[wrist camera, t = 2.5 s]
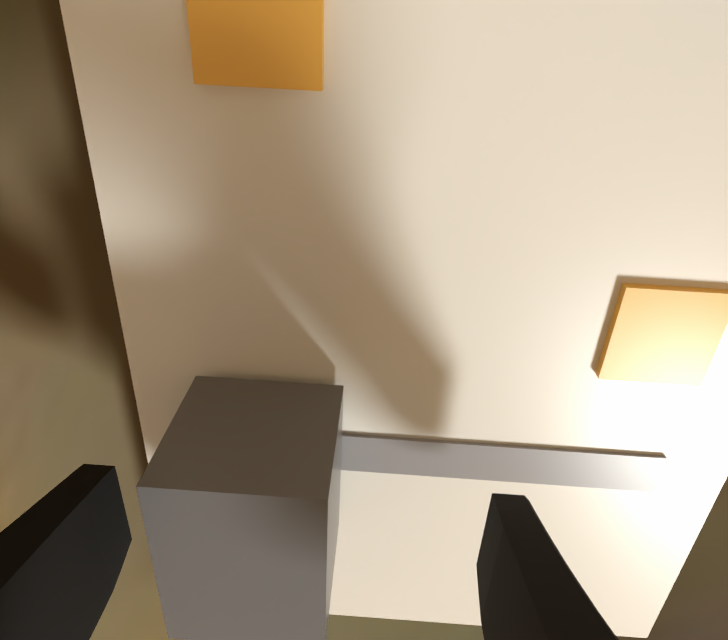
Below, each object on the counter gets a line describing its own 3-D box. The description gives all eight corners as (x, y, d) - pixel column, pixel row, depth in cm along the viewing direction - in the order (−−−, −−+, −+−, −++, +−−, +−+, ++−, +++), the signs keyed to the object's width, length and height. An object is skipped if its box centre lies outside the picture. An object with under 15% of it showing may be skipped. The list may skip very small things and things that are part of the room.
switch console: (191, 556, 17) (172, 609, 15) (-86, -1197, 5) (-282, -1688, 4) (627, 588, 17) (649, 645, 15) (1397, -1180, 5) (1843, -1708, 3)
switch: (212, 514, 13) (168, 637, 11) (195, 375, 11) (136, 486, 9) (339, 523, 13) (325, 650, 11) (344, 385, 11) (327, 500, 9)
